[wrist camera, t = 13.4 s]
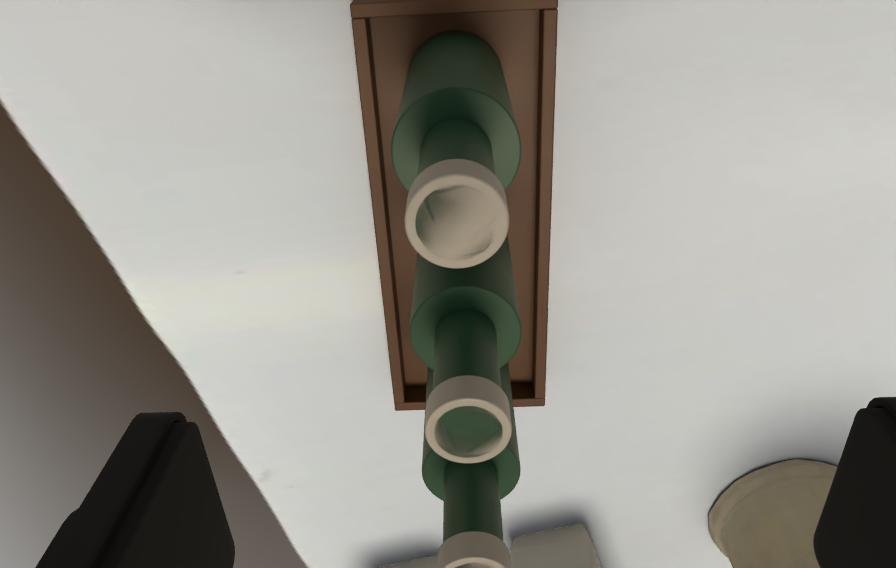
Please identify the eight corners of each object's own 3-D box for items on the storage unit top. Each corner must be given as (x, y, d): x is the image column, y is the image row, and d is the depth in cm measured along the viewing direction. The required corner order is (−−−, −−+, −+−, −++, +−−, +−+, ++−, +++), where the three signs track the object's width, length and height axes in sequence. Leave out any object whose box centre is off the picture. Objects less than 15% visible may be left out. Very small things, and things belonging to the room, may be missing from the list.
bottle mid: (404, 209, 35) (373, 412, 21) (479, 169, 34) (497, 356, 20) (446, 274, 37) (443, 497, 23) (519, 239, 36) (559, 451, 22)
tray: (355, -4, 30) (349, 3, 28) (552, -14, 30) (558, -7, 28) (397, 388, 41) (395, 411, 40) (540, 383, 41) (544, 406, 39)
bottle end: (414, 331, 39) (393, 567, 25) (482, 298, 38) (499, 528, 24) (452, 384, 41) (452, 629, 27) (518, 354, 39) (552, 596, 26)
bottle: (389, 61, 31) (342, 194, 18) (474, 10, 30) (491, 112, 17) (438, 142, 33) (427, 317, 20) (519, 97, 32) (566, 251, 19)
